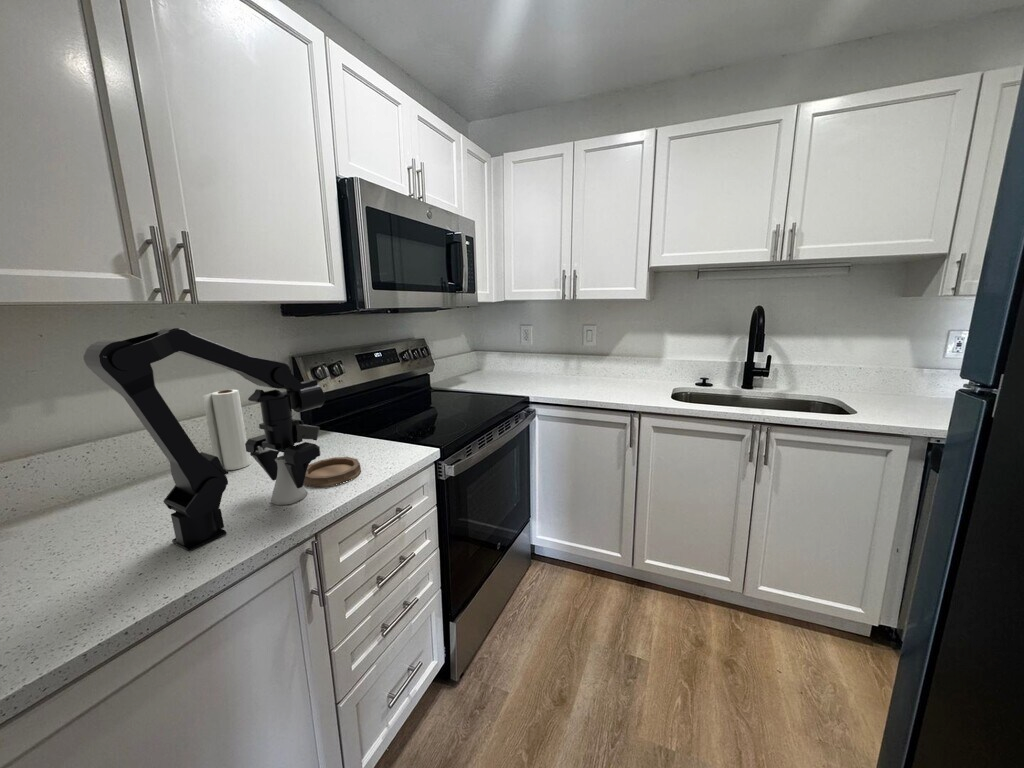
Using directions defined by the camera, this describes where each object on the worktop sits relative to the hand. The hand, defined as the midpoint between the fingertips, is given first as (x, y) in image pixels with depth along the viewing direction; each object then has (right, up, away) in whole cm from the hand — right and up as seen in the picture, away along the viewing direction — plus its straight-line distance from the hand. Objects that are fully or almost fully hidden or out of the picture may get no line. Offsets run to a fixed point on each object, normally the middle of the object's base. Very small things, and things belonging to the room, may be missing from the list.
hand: (287, 483), depth 92 cm
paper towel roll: (-26, 0, +20) cm, 33 cm away
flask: (0, -4, +1) cm, 4 cm away
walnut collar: (+5, -1, +13) cm, 14 cm away
